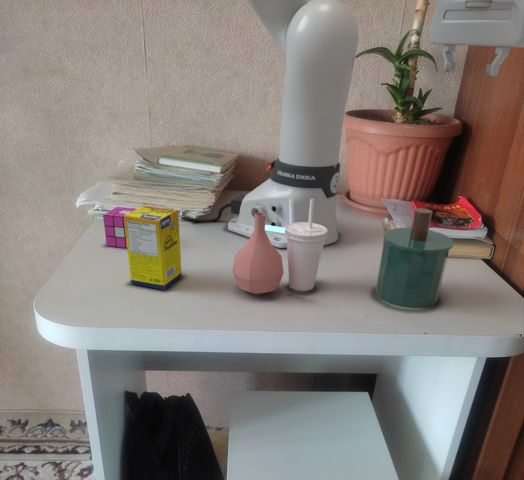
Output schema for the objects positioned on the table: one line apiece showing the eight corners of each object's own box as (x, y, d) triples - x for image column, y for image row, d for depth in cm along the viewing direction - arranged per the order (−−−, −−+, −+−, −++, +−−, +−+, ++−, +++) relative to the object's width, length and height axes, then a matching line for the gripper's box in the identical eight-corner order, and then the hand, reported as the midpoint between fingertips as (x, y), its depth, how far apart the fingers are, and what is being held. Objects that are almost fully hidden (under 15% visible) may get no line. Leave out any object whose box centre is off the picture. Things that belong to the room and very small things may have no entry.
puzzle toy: (120, 236, 98) (116, 206, 96) (148, 239, 98) (145, 209, 95) (106, 245, 94) (102, 214, 91) (136, 249, 93) (133, 218, 90)
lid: (372, 247, 74) (378, 212, 71) (396, 230, 81) (401, 197, 78) (440, 263, 69) (449, 226, 67) (459, 243, 77) (467, 209, 74)
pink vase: (285, 284, 82) (290, 209, 76) (278, 304, 76) (283, 224, 69) (237, 279, 83) (238, 204, 77) (227, 299, 77) (227, 219, 70)
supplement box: (182, 276, 83) (179, 209, 77) (164, 291, 78) (159, 220, 72) (149, 270, 85) (144, 204, 79) (130, 284, 80) (122, 214, 74)
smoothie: (310, 301, 77) (318, 207, 70) (273, 290, 80) (278, 199, 73) (328, 287, 82) (338, 198, 75) (293, 277, 85) (299, 190, 77)
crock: (366, 300, 78) (375, 243, 73) (387, 280, 85) (396, 227, 80) (425, 317, 74) (439, 257, 69) (443, 295, 81) (456, 239, 76)
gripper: (430, -14, 96) (415, 70, 103) (531, -20, 82) (506, 78, 89) (451, -11, 99) (436, 70, 106) (553, -17, 85) (527, 78, 92)
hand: (469, 74), depth 98 cm, fingers open, 8 cm apart
